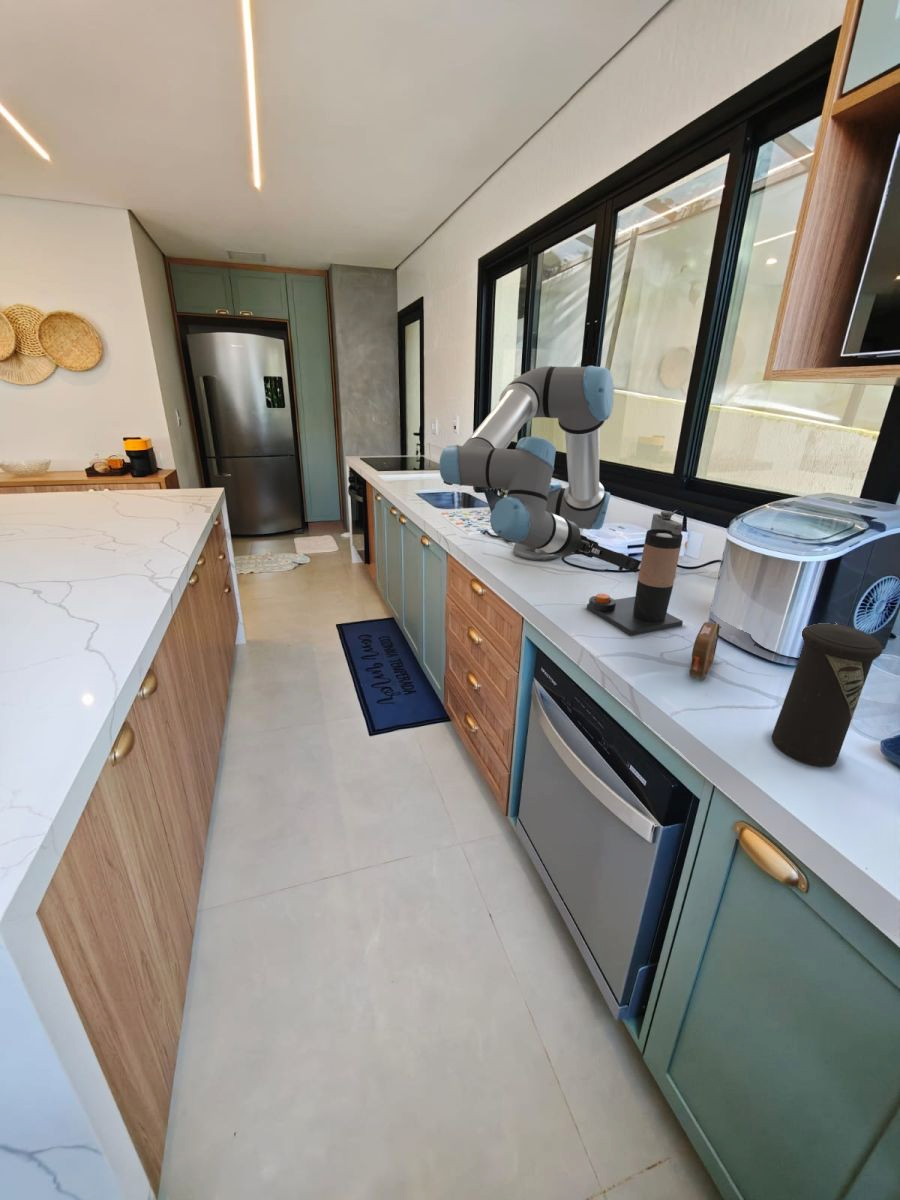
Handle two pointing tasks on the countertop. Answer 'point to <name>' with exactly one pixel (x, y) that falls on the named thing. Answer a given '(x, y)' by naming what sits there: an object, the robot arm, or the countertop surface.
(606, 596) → the tare button
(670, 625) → the scale
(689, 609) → the countertop surface
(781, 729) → the container
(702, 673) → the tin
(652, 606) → the travel mug
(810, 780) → the countertop surface
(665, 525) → the flask
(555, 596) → the countertop surface
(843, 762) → the countertop surface
